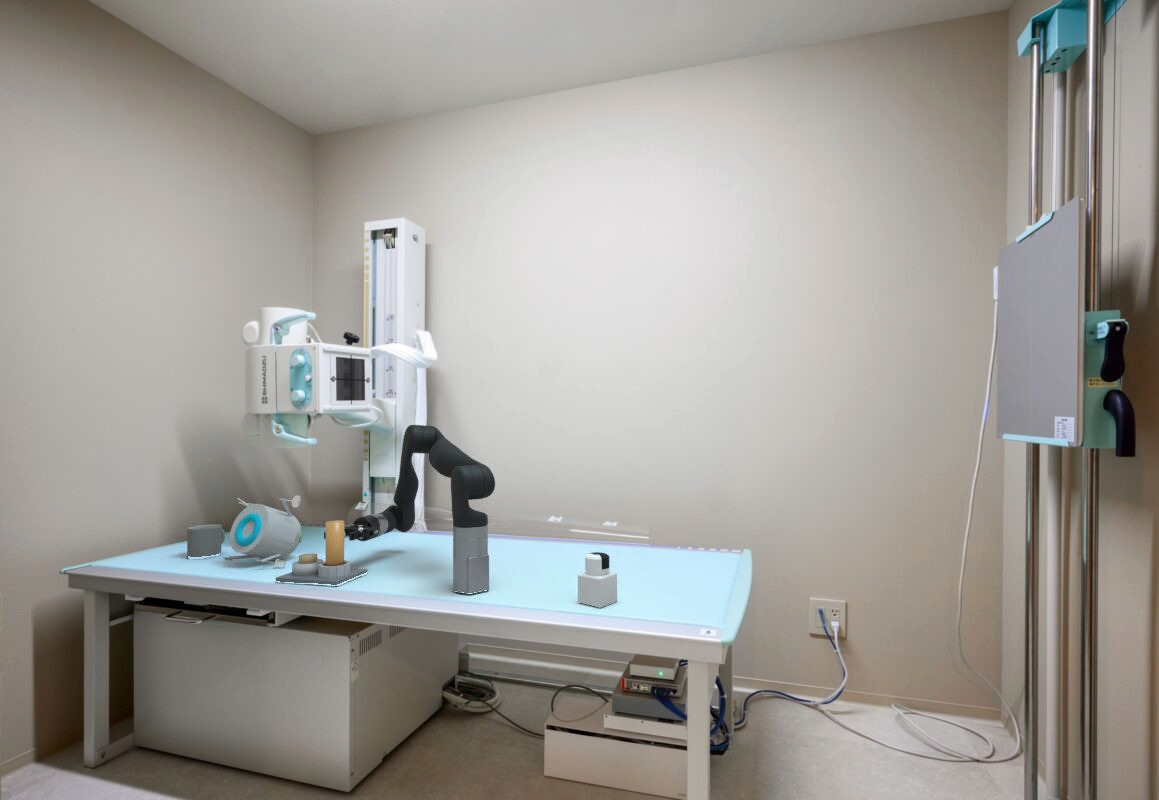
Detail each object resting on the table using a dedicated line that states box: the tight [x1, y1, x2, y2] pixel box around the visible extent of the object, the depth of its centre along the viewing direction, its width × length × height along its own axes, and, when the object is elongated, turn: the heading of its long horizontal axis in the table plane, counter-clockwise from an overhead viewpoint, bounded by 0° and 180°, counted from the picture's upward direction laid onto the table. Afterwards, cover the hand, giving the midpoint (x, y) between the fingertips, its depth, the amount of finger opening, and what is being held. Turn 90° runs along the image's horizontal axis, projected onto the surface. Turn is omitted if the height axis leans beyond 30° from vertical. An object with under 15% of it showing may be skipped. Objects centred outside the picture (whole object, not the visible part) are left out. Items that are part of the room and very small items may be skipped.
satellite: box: [222, 494, 303, 568], centre depth 196 cm, size 23×20×25 cm
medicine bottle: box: [577, 551, 618, 609], centre depth 148 cm, size 7×7×12 cm
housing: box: [275, 553, 368, 585], centre depth 173 cm, size 20×14×6 cm
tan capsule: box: [324, 519, 345, 566], centre depth 172 cm, size 5×5×15 cm
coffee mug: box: [186, 523, 226, 557], centre depth 206 cm, size 13×10×10 cm
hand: (337, 536), depth 174 cm, fingers open, 8 cm apart
